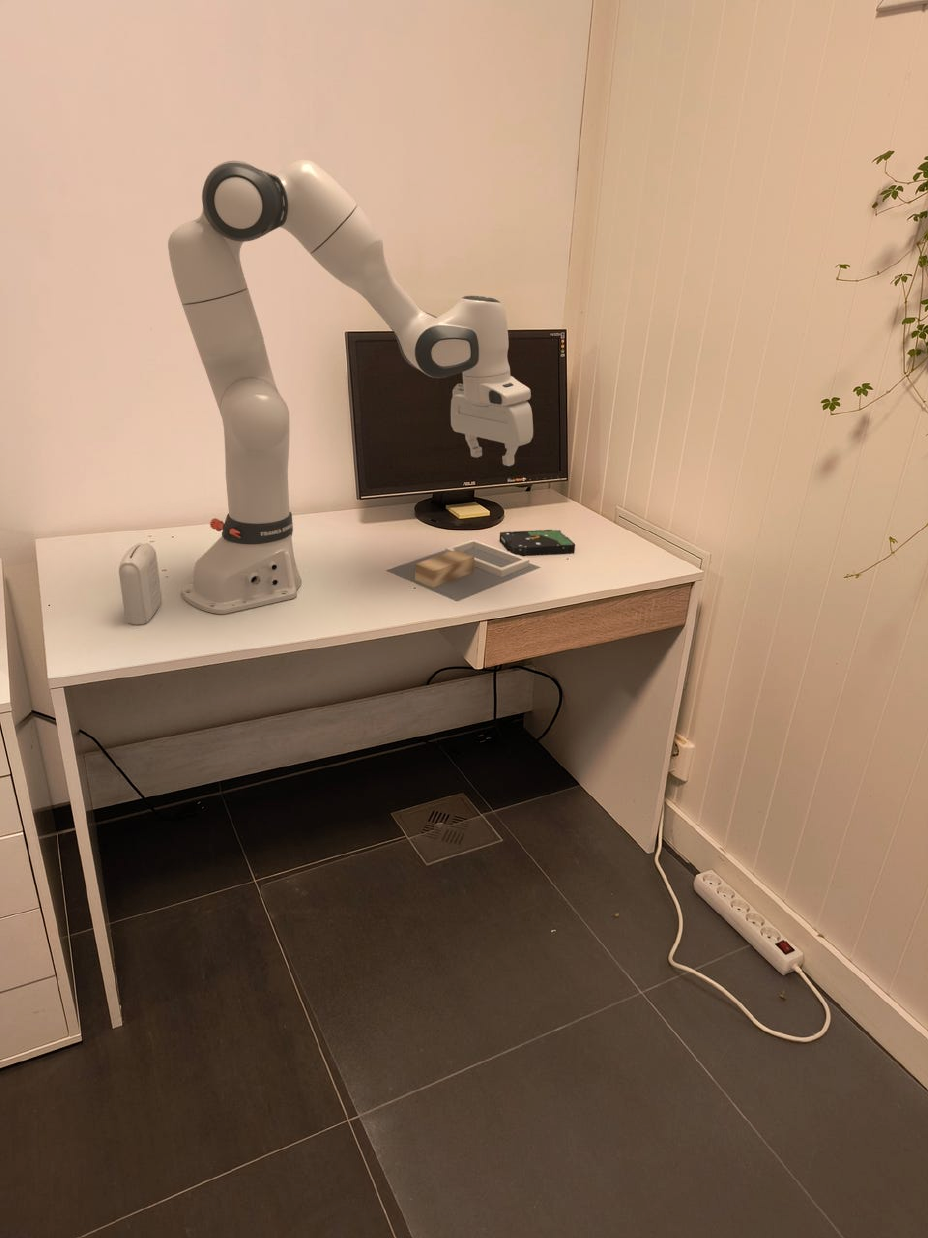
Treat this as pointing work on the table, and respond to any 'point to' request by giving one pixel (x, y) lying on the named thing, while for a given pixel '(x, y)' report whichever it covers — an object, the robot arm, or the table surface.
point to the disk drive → (537, 542)
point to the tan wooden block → (444, 568)
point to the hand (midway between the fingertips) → (492, 460)
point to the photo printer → (140, 583)
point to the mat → (487, 573)
